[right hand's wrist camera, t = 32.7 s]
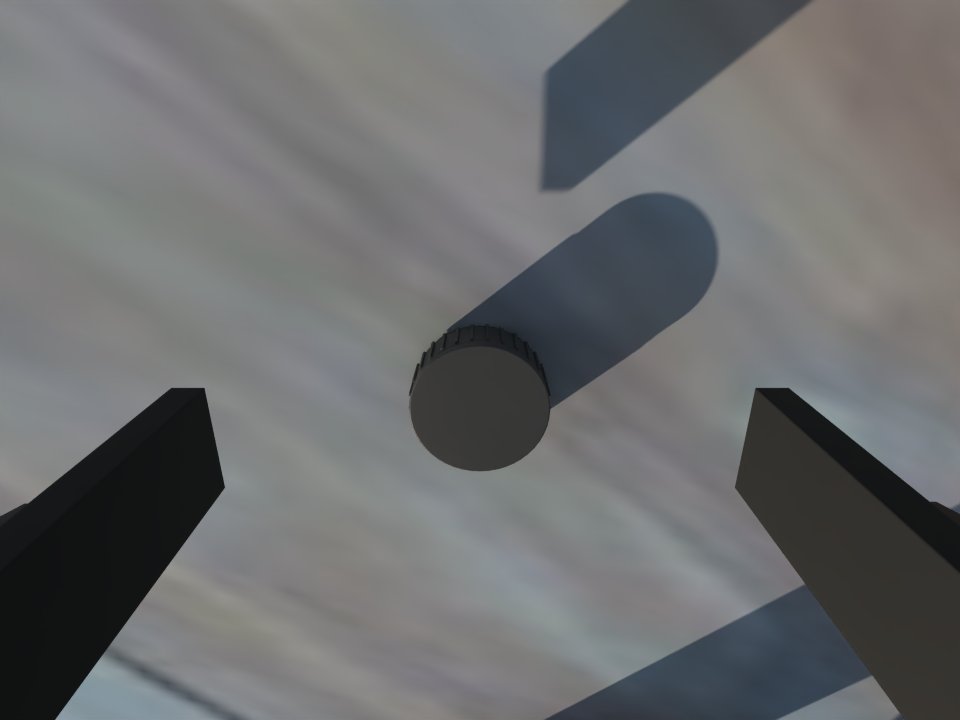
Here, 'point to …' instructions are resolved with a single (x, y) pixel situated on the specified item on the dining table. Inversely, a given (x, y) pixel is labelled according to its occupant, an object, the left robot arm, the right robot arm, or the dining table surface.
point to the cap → (479, 399)
